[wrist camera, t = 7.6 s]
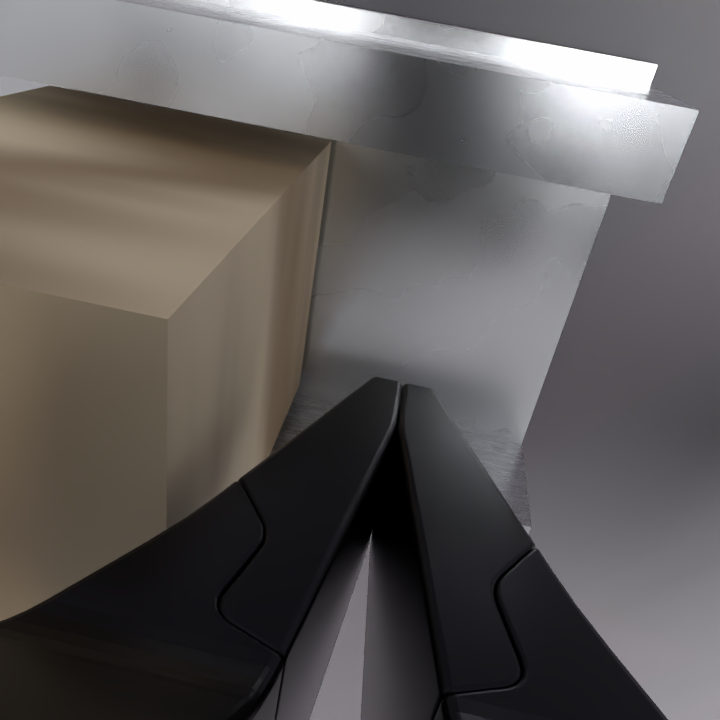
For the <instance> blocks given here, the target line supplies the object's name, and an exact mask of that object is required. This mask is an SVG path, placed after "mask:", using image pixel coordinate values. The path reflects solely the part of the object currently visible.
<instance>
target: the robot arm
mask: <svg viewBox="0 0 720 720" xmlns="http://www.w3.org/2000/svg"><path fill="white" fill-rule="evenodd" d="M371 534H372V536H371ZM370 538H371V546H370V559H369V577H368V595H367V613H366V632H365V650H364V668H363V686H362V704H361V720H668V719H667V718H666V717H665V715H664V714H663V713H662V712H661V710H660V709H659V708H658V707H657V705H656V704H655V703H654V702H653V701H652V699H651V698H650V697H649V696H648V694H647V693H646V692H645V691H644V690H643V688H642V687H641V686H640V685H639V683H638V682H637V681H636V680H635V678H634V677H633V676H632V675H631V674H630V672H629V671H628V670H627V669H626V667H625V666H624V665H623V664H622V663H621V661H620V660H619V659H618V658H617V656H616V655H615V654H614V653H613V652H612V650H611V649H610V648H609V647H608V645H607V644H606V643H605V641H604V640H603V639H602V638H601V636H600V635H599V634H598V632H597V631H596V630H595V629H594V627H593V626H592V625H591V623H590V622H589V621H588V620H587V618H586V617H585V616H584V614H583V613H582V612H581V611H580V609H579V608H578V607H577V605H576V604H575V602H574V601H573V600H572V598H571V597H570V595H569V594H568V592H567V591H566V590H565V588H564V587H563V585H562V584H561V582H560V581H559V580H558V578H557V577H556V575H555V574H554V572H553V571H552V569H551V568H550V566H549V565H548V563H547V562H546V560H545V559H544V557H543V556H542V554H541V553H540V551H539V550H538V549H535V544H534V542H533V541H532V539H531V538H530V536H529V535H528V533H527V532H526V530H525V529H524V527H523V526H522V524H521V523H520V521H519V520H518V518H517V517H516V515H515V514H514V512H513V510H512V509H511V507H510V506H509V504H508V503H507V501H506V500H505V498H504V497H503V495H502V494H501V492H500V491H499V489H498V488H497V486H496V485H495V483H494V482H493V480H492V478H491V477H490V475H489V474H488V472H487V471H486V469H485V468H484V466H483V465H482V463H481V462H480V460H479V459H478V457H477V456H476V454H475V453H474V451H473V450H472V448H471V446H470V445H469V443H468V442H467V440H466V439H465V437H464V436H463V434H462V433H461V431H460V430H459V428H458V427H457V425H456V424H455V422H454V421H453V419H452V418H451V416H450V415H449V413H448V411H447V410H446V408H445V407H444V405H443V404H442V402H441V401H440V399H439V398H438V396H437V395H436V393H435V392H434V391H433V390H432V389H431V388H427V387H423V386H418V385H413V384H404V385H403V386H402V384H401V383H400V382H399V381H395V380H390V379H386V378H381V377H373V378H371V379H370V380H368V381H367V382H366V383H365V384H363V385H362V386H361V387H359V388H358V389H357V390H355V391H354V392H353V393H351V394H350V395H349V396H347V397H346V398H345V399H343V400H342V401H341V402H340V403H338V404H337V405H336V406H334V407H333V408H332V409H330V410H329V411H328V412H326V413H325V414H324V415H322V416H321V417H320V418H318V419H317V420H316V421H315V422H313V423H312V424H311V425H309V426H308V427H307V428H305V429H304V430H303V431H301V432H300V433H299V434H297V435H296V436H295V437H293V438H292V439H291V440H289V441H288V442H287V443H286V444H284V445H283V446H282V447H280V448H279V449H278V450H276V451H275V452H274V453H272V454H271V455H270V456H268V457H267V458H266V459H264V460H263V461H262V462H261V463H259V464H258V465H257V466H255V467H254V468H253V469H251V470H250V471H249V472H247V473H246V474H245V475H243V476H242V477H241V478H240V479H239V480H238V482H237V481H236V482H234V483H232V484H231V485H230V486H228V487H227V488H226V489H225V490H223V491H222V492H221V493H219V494H218V495H217V496H215V497H214V498H212V499H211V500H210V501H208V502H207V503H205V504H204V505H202V506H201V507H200V508H198V509H197V510H195V511H194V512H193V513H191V514H190V515H188V516H187V517H185V518H184V519H182V520H181V521H179V522H177V523H176V524H174V525H172V526H171V527H169V528H168V529H166V530H164V531H163V532H161V533H160V534H158V535H156V536H155V537H153V538H151V539H150V540H148V541H147V542H145V543H143V544H141V545H140V546H138V547H136V548H134V549H133V550H131V551H129V552H128V553H126V554H124V555H122V556H121V557H119V558H117V559H116V560H114V561H112V562H110V563H109V564H107V565H105V566H103V567H102V568H100V569H98V570H97V571H95V572H93V573H91V574H90V575H88V576H86V577H85V578H83V579H81V580H79V581H78V582H76V583H74V584H72V585H71V586H69V587H67V588H66V589H64V590H62V591H60V592H59V593H57V594H55V595H54V596H52V597H50V598H48V599H47V600H45V601H43V602H41V603H39V604H37V605H35V606H33V607H32V608H30V609H28V610H26V611H24V612H21V613H19V614H17V615H14V616H12V617H10V618H7V619H5V620H2V621H0V720H309V719H310V716H311V713H312V710H313V707H314V704H315V701H316V698H317V695H318V693H319V690H320V687H321V684H322V681H323V678H324V675H325V672H326V669H327V666H328V663H329V660H330V657H331V654H332V651H333V648H334V646H335V643H336V640H337V637H338V634H339V631H340V628H341V625H342V622H343V619H344V616H345V613H346V610H347V607H348V604H349V601H350V598H351V596H352V593H353V590H354V587H355V584H356V581H357V578H358V575H359V572H360V569H361V566H362V563H363V560H364V557H365V554H366V551H367V548H368V545H369V541H370Z"/></svg>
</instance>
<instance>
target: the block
mask: <svg viewBox="0 0 720 720" xmlns="http://www.w3.org/2000/svg"><path fill="white" fill-rule="evenodd" d="M330 149H331V140H326V139H321V138H316V137H311V136H306V135H301V134H296V133H290V132H285V131H280V130H275V129H270V128H265V127H260V126H255V125H250V124H244V123H239V122H234V121H229V120H224V119H219V118H214V117H209V116H204V115H199V114H193V113H188V112H183V111H178V110H173V109H168V108H163V107H158V106H153V105H147V104H142V103H137V102H132V101H127V100H122V99H117V98H112V97H107V96H102V95H96V94H91V93H86V92H81V91H76V90H71V89H66V88H61V87H56V86H45V87H41V88H36V89H32V90H27V91H23V92H18V93H14V94H9V95H5V96H0V621H2V620H5V619H7V618H10V617H12V616H14V615H17V614H19V613H21V612H24V611H26V610H28V609H30V608H32V607H33V606H35V605H37V604H39V603H41V602H43V601H45V600H47V599H48V598H50V597H52V596H54V595H55V594H57V593H59V592H60V591H62V590H64V589H66V588H67V587H69V586H71V585H72V584H74V583H76V582H78V581H79V580H81V579H83V578H85V577H86V576H88V575H90V574H91V573H93V572H95V571H97V570H98V569H100V568H102V567H103V566H105V565H107V564H109V563H110V562H112V561H114V560H116V559H117V558H119V557H121V556H122V555H124V554H126V553H128V552H129V551H131V550H133V549H134V548H136V547H138V546H140V545H141V544H143V543H145V542H147V541H148V540H150V539H151V538H153V537H155V536H156V535H158V534H160V533H161V532H163V531H164V530H166V529H168V528H169V527H171V526H172V525H174V524H176V523H177V522H179V521H181V520H182V519H184V518H185V517H187V516H188V515H190V514H191V513H193V512H194V511H195V510H197V509H198V508H200V507H201V506H202V505H204V504H205V503H207V502H208V501H210V500H211V499H212V498H214V497H215V496H217V495H218V494H219V493H221V492H222V491H223V490H225V489H226V488H227V487H228V486H230V485H231V484H232V483H234V482H236V481H237V482H238V480H239V479H240V478H241V477H242V476H243V475H245V474H246V473H247V472H249V471H250V470H251V469H253V468H254V467H255V466H257V465H258V464H259V463H261V462H262V461H263V460H264V459H266V458H267V457H268V456H269V455H270V453H271V450H272V448H273V446H274V443H275V441H276V439H277V436H278V434H279V432H280V429H281V427H282V425H283V422H284V420H285V418H286V415H287V413H288V411H289V408H290V406H291V404H292V401H293V399H294V397H295V394H296V392H297V390H298V387H299V385H300V378H301V370H302V362H303V355H304V347H305V340H306V332H307V324H308V317H309V309H310V301H311V294H312V286H313V279H314V271H315V263H316V256H317V248H318V240H319V233H320V225H321V217H322V210H323V202H324V195H325V187H326V179H327V172H328V164H329V156H330Z"/></svg>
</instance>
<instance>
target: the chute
mask: <svg viewBox="0 0 720 720" xmlns="http://www.w3.org/2000/svg"><path fill="white" fill-rule="evenodd" d="M657 66H658V65H657V64H654V63H651V62H646V61H641V60H635V59H630V58H624V57H619V56H614V55H608V54H603V53H598V52H592V51H587V50H581V49H576V48H571V47H565V46H560V45H555V44H549V43H544V42H539V41H533V40H528V39H522V38H517V37H512V36H506V35H501V34H496V33H490V32H485V31H479V30H474V29H469V28H463V27H458V26H453V25H447V24H442V23H436V22H431V21H426V20H420V19H415V18H410V17H404V16H399V15H393V14H388V13H383V12H377V11H372V10H367V9H361V8H356V7H350V6H345V5H340V4H334V3H329V2H324V1H318V0H0V96H5V95H9V94H14V93H18V92H23V91H27V90H32V89H36V88H41V87H45V86H56V87H61V88H66V89H71V90H76V91H81V92H86V93H91V94H96V95H102V96H107V97H112V98H117V99H122V100H127V101H132V102H137V103H142V104H147V105H153V106H158V107H163V108H168V109H173V110H178V111H183V112H188V113H193V114H199V115H204V116H209V117H214V118H219V119H224V120H229V121H234V122H239V123H244V124H250V125H255V126H260V127H265V128H270V129H275V130H280V131H285V132H290V133H296V134H301V135H306V136H311V137H316V138H321V139H326V140H331V149H330V156H329V164H328V172H327V179H326V187H325V195H324V202H323V210H322V217H321V225H320V233H319V240H318V248H317V256H316V263H315V271H314V279H313V286H312V294H311V301H310V309H309V317H308V324H307V332H306V340H305V347H304V355H303V362H302V370H301V378H300V385H299V387H298V390H297V392H296V394H295V397H294V399H293V401H292V404H291V406H290V408H289V411H288V413H287V415H286V418H285V420H284V422H283V425H282V427H281V429H280V432H279V434H278V436H277V439H276V441H275V443H274V446H273V448H272V450H271V453H270V455H271V454H272V453H274V452H275V451H276V450H278V449H279V448H280V447H282V446H283V445H284V444H286V443H287V442H288V441H289V440H291V439H292V438H293V437H295V436H296V435H297V434H299V433H300V432H301V431H303V430H304V429H305V428H307V427H308V426H309V425H311V424H312V423H313V422H315V421H316V420H317V419H318V418H320V417H321V416H322V415H324V414H325V413H326V412H328V411H329V410H330V409H332V408H333V407H334V406H336V405H337V404H338V403H340V402H341V401H342V400H343V399H345V398H346V397H347V396H349V395H350V394H351V393H353V392H354V391H355V390H357V389H358V388H359V387H361V386H362V385H363V384H365V383H366V382H367V381H368V380H370V379H371V378H373V377H381V378H386V379H390V380H395V381H399V382H400V383H401V384H402V386H403V385H404V384H413V385H418V386H423V387H427V388H431V389H432V390H433V391H434V392H435V393H436V395H437V396H438V398H439V399H440V401H441V402H442V404H443V405H444V407H445V408H446V410H447V411H448V413H449V415H450V416H451V418H452V419H453V421H454V422H455V424H456V425H457V427H458V428H459V430H460V431H461V433H462V434H463V436H464V437H465V439H466V440H467V442H468V443H469V445H470V446H471V448H472V450H473V451H474V453H475V454H476V456H477V457H478V459H479V460H480V462H481V463H482V465H483V466H484V468H485V469H486V471H487V472H488V474H489V475H490V477H491V478H492V480H493V482H494V483H495V485H496V486H497V488H498V489H499V491H500V492H501V494H502V495H503V497H504V498H505V500H506V501H507V503H508V504H509V506H510V507H511V509H512V510H513V512H514V514H515V515H516V517H517V518H518V520H519V521H520V523H521V524H522V526H523V527H524V529H525V530H526V532H527V533H528V535H529V532H530V530H531V519H530V511H529V503H528V494H527V486H526V478H525V469H524V461H523V452H522V441H523V439H524V436H525V433H526V430H527V427H528V425H529V422H530V419H531V416H532V414H533V411H534V408H535V405H536V402H537V400H538V397H539V394H540V391H541V389H542V386H543V383H544V380H545V377H546V375H547V372H548V369H549V366H550V364H551V361H552V358H553V355H554V352H555V350H556V347H557V344H558V341H559V338H560V336H561V333H562V330H563V327H564V325H565V322H566V319H567V316H568V313H569V311H570V308H571V305H572V302H573V300H574V297H575V294H576V291H577V288H578V286H579V283H580V280H581V277H582V275H583V272H584V269H585V266H586V263H587V261H588V258H589V255H590V252H591V249H592V247H593V244H594V241H595V238H596V236H597V233H598V230H599V227H600V224H601V222H602V219H603V216H604V213H605V211H606V208H607V205H608V202H609V199H610V197H611V194H612V195H617V196H622V197H627V198H632V199H637V200H642V201H647V202H653V203H658V204H662V202H663V199H664V197H665V194H666V192H667V189H668V187H669V185H670V182H671V180H672V177H673V175H674V172H675V170H676V167H677V165H678V162H679V160H680V157H681V155H682V152H683V150H684V147H685V145H686V142H687V140H688V137H689V135H690V132H691V130H692V127H693V125H694V122H695V120H696V117H697V115H698V113H699V110H697V109H695V108H693V107H692V106H690V105H688V104H686V103H684V102H682V101H680V100H678V99H676V98H674V97H672V96H670V95H668V94H666V93H664V92H662V91H660V90H658V89H656V88H654V87H652V86H650V85H651V83H652V80H653V77H654V74H655V71H656V69H657ZM270 455H269V456H270ZM371 536H372V534H371ZM370 541H371V538H370Z"/></svg>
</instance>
